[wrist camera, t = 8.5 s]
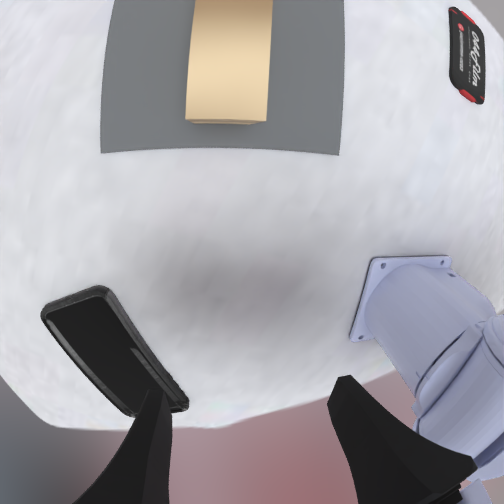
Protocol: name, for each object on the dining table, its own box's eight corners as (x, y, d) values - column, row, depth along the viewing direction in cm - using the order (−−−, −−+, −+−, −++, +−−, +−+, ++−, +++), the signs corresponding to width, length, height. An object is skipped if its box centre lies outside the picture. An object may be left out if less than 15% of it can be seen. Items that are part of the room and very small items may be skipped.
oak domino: (249, 124, 14) (266, 121, 10) (194, 123, 14) (185, 119, 9) (258, -21, 10) (275, -64, 5) (207, -23, 10) (208, -68, 5)
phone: (128, 418, 23) (35, 312, 17) (129, 410, 24) (41, 304, 18) (194, 409, 23) (104, 287, 17) (194, 400, 24) (109, 278, 18)
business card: (450, 1, 10) (483, 30, 11) (445, 2, 11) (478, 30, 12) (451, 85, 14) (483, 110, 15) (445, 85, 15) (478, 109, 16)
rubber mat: (339, -8, 11) (342, -10, 11) (335, 154, 16) (339, 155, 15) (121, -17, 9) (119, -21, 8) (103, 152, 14) (100, 153, 13)
